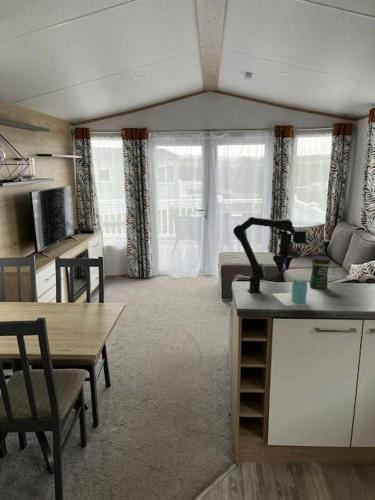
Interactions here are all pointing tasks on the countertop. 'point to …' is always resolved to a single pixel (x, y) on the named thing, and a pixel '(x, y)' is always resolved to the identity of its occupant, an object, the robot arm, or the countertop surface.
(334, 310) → the countertop surface
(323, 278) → the coffee jar
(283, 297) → the sage mat
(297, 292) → the teal rounded cylinder
